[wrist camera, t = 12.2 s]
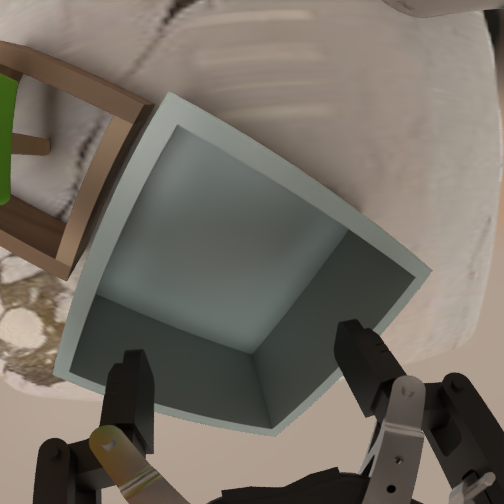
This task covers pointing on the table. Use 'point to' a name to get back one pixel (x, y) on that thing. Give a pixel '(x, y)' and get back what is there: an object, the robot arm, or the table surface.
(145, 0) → the table surface
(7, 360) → the table surface
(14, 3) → the table surface
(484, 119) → the table surface
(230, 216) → the bin
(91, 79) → the collar
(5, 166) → the popsicle
